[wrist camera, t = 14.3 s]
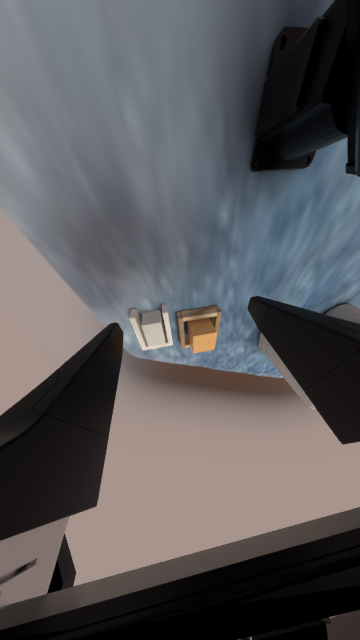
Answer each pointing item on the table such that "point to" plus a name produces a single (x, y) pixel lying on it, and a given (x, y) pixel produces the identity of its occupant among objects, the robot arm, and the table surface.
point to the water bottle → (345, 313)
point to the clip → (140, 334)
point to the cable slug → (153, 328)
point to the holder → (197, 314)
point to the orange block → (201, 335)
